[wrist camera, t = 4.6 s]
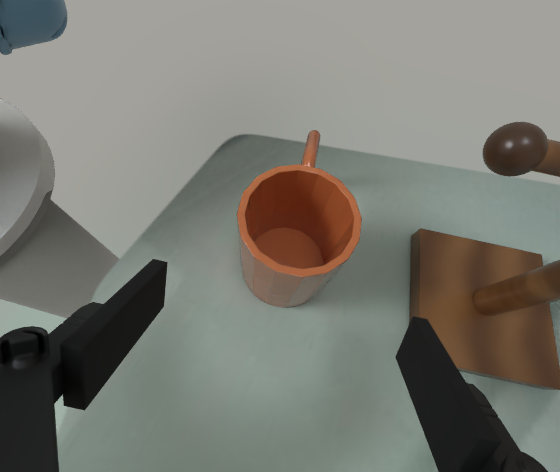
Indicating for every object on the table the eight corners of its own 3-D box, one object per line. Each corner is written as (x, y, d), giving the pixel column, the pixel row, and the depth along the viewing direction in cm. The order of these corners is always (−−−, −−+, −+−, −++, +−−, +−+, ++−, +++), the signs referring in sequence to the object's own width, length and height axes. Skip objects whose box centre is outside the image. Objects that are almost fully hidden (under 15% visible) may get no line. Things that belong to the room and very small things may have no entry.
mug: (320, 316, 28) (354, 288, 19) (232, 296, 28) (223, 260, 19) (337, 193, 33) (371, 124, 24) (263, 177, 33) (268, 102, 24)
